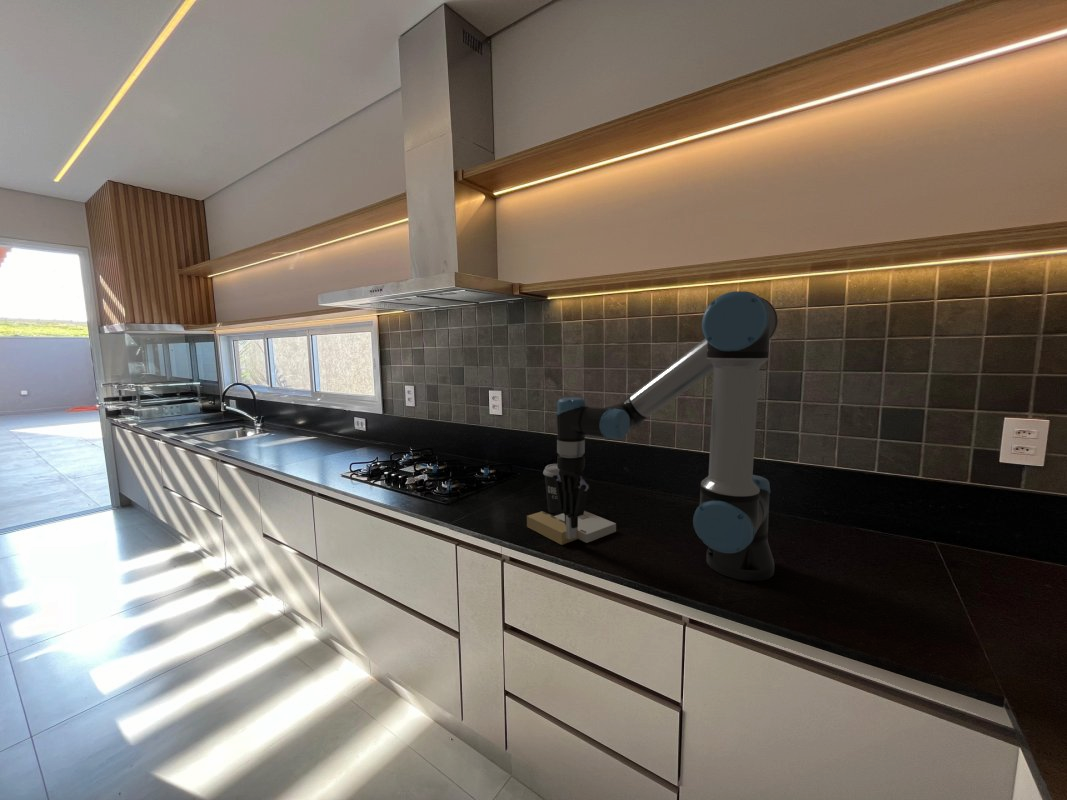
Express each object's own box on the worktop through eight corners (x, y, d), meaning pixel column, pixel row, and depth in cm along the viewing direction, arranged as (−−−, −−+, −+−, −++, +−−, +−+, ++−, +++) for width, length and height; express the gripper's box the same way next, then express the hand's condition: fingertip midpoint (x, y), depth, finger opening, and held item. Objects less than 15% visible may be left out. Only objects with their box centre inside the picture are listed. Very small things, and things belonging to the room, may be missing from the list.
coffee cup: (538, 512, 144) (538, 468, 143) (551, 503, 153) (550, 462, 151) (565, 517, 140) (564, 472, 138) (576, 507, 148) (576, 465, 147)
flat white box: (615, 531, 129) (616, 522, 128) (586, 543, 121) (586, 533, 121) (578, 515, 141) (578, 507, 141) (550, 525, 134) (550, 516, 134)
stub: (577, 539, 124) (577, 526, 123) (561, 545, 120) (561, 532, 120) (542, 521, 136) (542, 510, 136) (527, 526, 133) (526, 515, 132)
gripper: (598, 456, 115) (597, 541, 118) (565, 448, 126) (565, 526, 128) (577, 461, 111) (577, 549, 114) (545, 452, 121) (546, 533, 124)
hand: (571, 537), depth 121 cm, fingers closed
